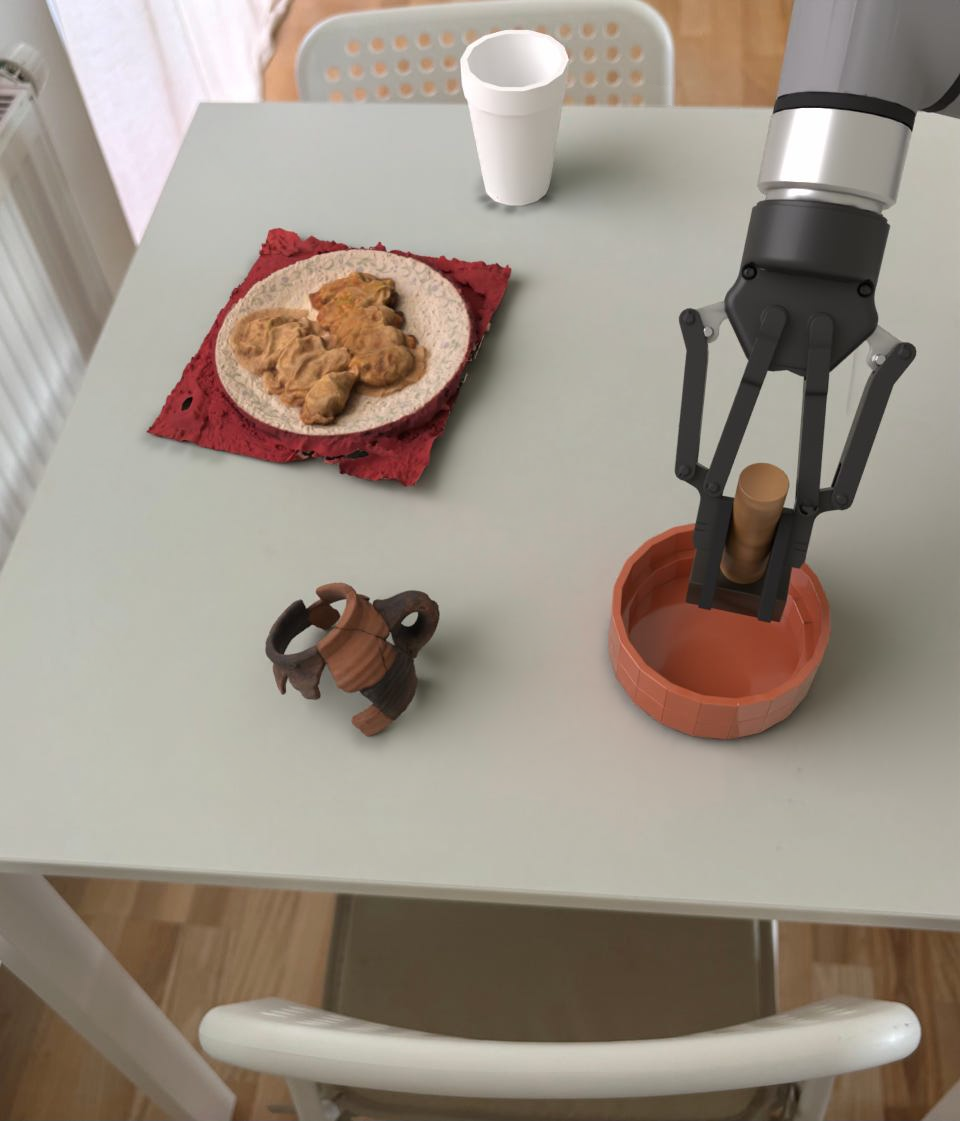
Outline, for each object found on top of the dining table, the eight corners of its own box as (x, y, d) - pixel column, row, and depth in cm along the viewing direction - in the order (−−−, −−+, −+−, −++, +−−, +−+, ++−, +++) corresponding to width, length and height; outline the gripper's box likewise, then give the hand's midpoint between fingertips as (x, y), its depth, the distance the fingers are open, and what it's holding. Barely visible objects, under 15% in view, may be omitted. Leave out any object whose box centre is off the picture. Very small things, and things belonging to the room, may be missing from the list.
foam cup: (584, 191, 106) (589, 65, 95) (505, 229, 103) (501, 105, 93) (527, 142, 111) (525, 17, 100) (450, 178, 108) (440, 54, 97)
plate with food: (514, 283, 100) (513, 252, 97) (416, 496, 86) (412, 467, 83) (275, 240, 105) (267, 210, 102) (147, 434, 91) (134, 405, 88)
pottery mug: (337, 772, 74) (266, 695, 69) (308, 698, 82) (243, 624, 77) (483, 668, 74) (422, 585, 70) (440, 604, 82) (383, 525, 78)
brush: (788, 571, 71) (822, 464, 62) (779, 622, 69) (814, 520, 60) (695, 552, 73) (716, 445, 63) (684, 602, 70) (704, 499, 61)
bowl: (809, 573, 81) (825, 529, 76) (817, 752, 73) (836, 715, 68) (614, 558, 82) (618, 514, 78) (602, 731, 74) (606, 694, 70)
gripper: (959, 234, 63) (864, 624, 68) (684, 196, 66) (612, 571, 71) (986, 218, 56) (877, 655, 61) (676, 176, 59) (596, 595, 64)
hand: (734, 609), depth 66 cm, fingers closed on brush, 3 cm apart
